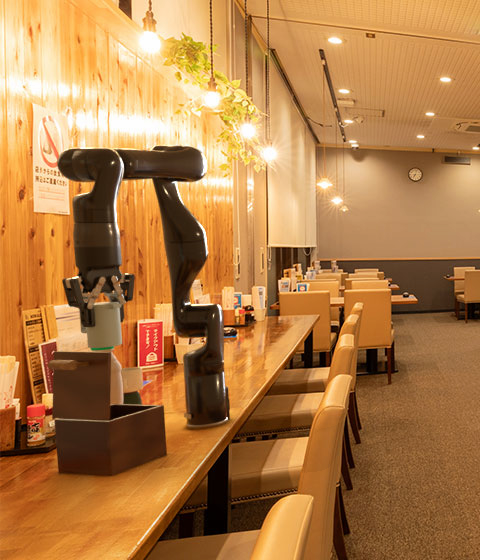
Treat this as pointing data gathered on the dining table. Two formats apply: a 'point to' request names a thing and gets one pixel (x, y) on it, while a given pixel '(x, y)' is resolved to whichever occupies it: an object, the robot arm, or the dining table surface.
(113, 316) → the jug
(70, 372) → the lid
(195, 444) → the dining table surface
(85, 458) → the chest
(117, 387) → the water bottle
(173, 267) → the robot arm
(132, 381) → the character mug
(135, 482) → the dining table surface
